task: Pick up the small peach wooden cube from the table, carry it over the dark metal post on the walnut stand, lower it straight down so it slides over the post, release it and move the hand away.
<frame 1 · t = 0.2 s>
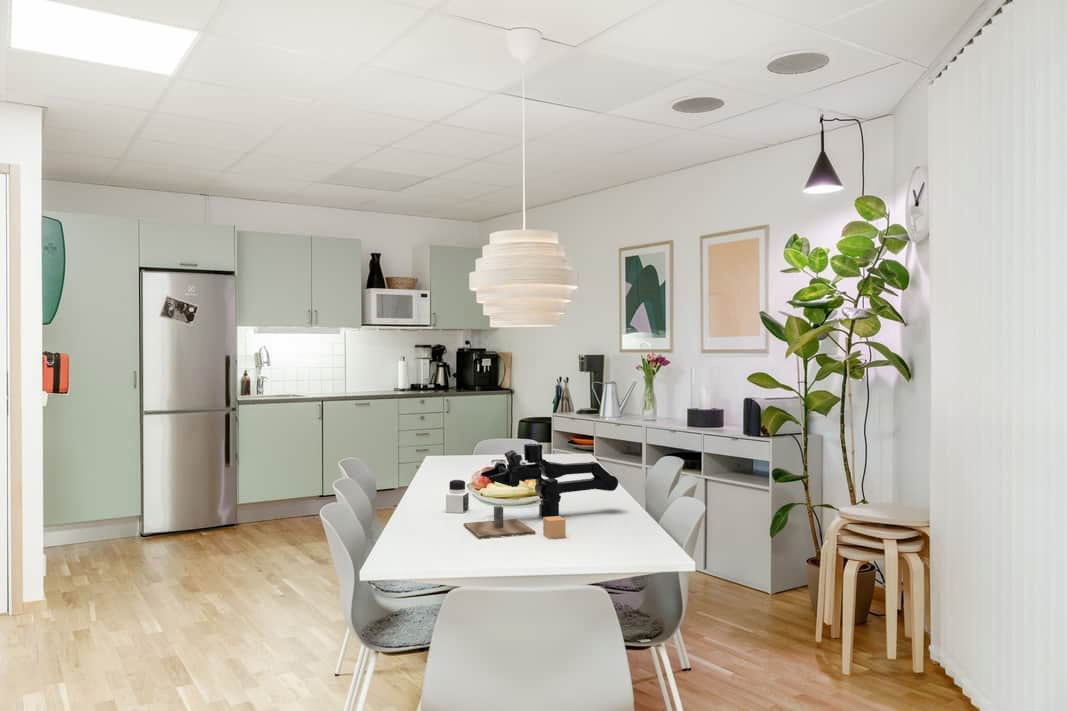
hand: (485, 476, 281), 17 cm above the table, tool horizontal, fingers open, 9 cm apart
peach wooden cube: (554, 536, 261), on the table
post stand: (498, 529, 270), on the table
medicine bottle: (457, 511, 301), on the table
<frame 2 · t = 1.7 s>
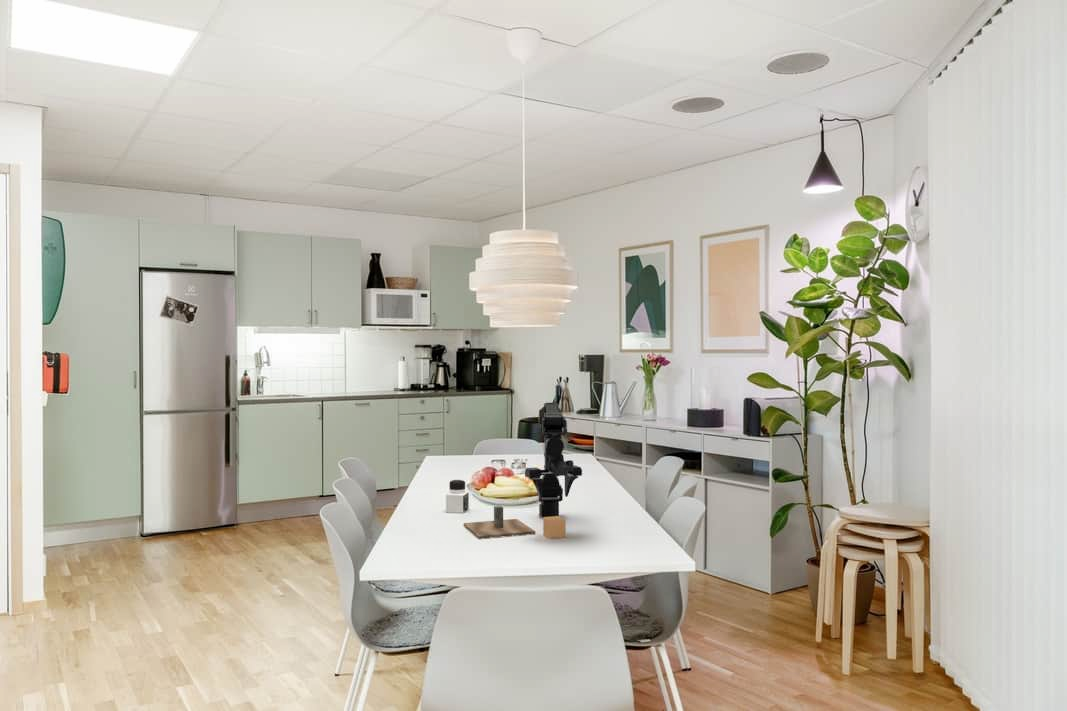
hand: (553, 497, 261), 13 cm above the table, tool pointing down, fingers open, 9 cm apart
nothing on the table moved.
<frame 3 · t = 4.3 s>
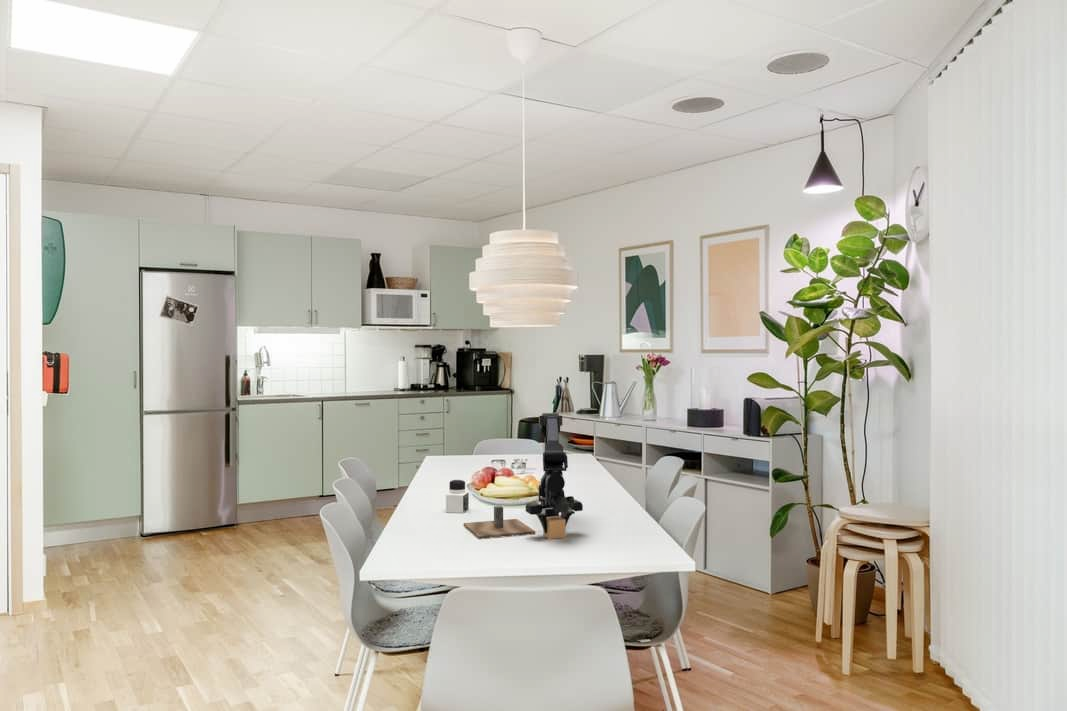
hand: (554, 532, 261), 1 cm above the table, tool pointing down, fingers closed on peach wooden cube, 6 cm apart
peach wooden cube: (554, 536, 261), on the table, touching gripper
everything else where it was.
when the fingers open (5 cm above the table, at t = 12.0 s): peach wooden cube drops 1 cm, resting on post stand.
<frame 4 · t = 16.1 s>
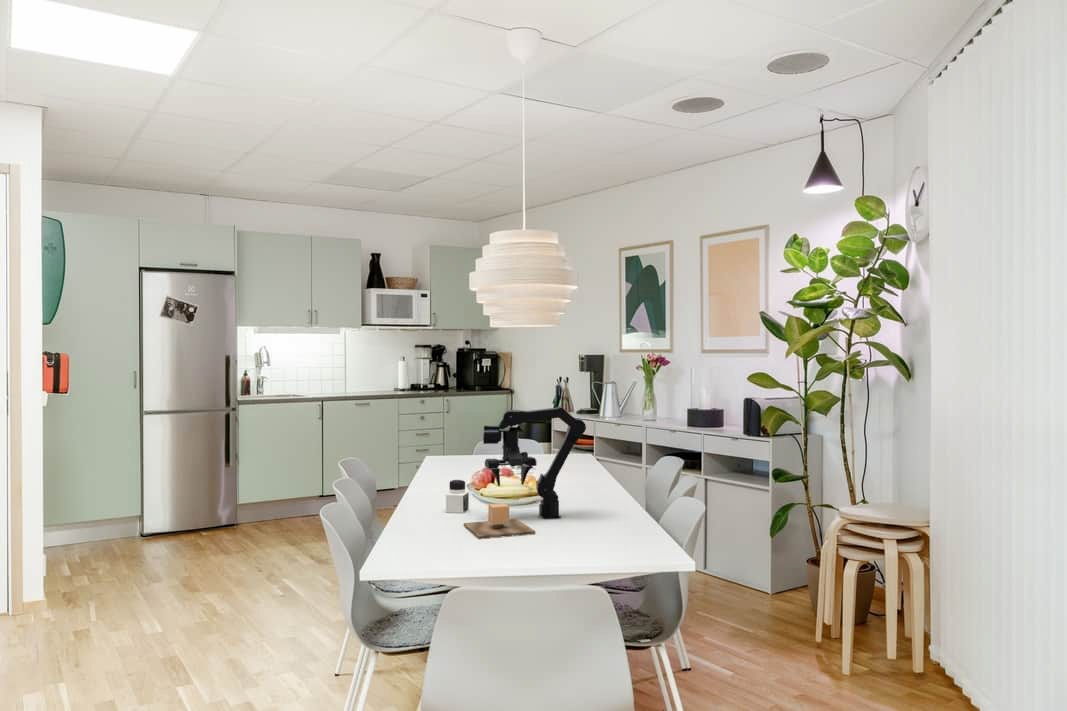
hand: (510, 485, 290), 12 cm above the table, tool pointing down, fingers open, 9 cm apart
peach wooden cube: (498, 522, 270), point 3 cm above the table, touching post stand
everything else where it was.
at the end: peach wooden cube 0.1 cm off-centre on the post stand, point 2.6 cm above the post stand's base; peach wooden cube tilted 0°; the gripper is holding nothing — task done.
